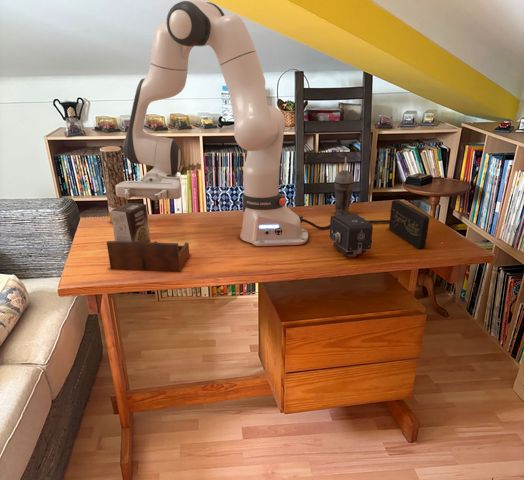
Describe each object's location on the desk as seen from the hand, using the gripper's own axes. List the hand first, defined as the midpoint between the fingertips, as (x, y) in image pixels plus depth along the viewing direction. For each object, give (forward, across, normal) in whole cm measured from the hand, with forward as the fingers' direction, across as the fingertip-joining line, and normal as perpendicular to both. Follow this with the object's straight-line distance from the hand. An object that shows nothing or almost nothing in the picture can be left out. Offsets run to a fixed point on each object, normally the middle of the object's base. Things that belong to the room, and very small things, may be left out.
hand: (142, 196), depth 162 cm
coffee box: (+13, 0, +16) cm, 21 cm away
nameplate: (-15, +82, +15) cm, 85 cm away
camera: (0, +63, +15) cm, 65 cm away
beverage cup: (-41, +62, +15) cm, 76 cm away
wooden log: (-24, -17, +16) cm, 34 cm away
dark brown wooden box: (+13, +5, +16) cm, 21 cm away
